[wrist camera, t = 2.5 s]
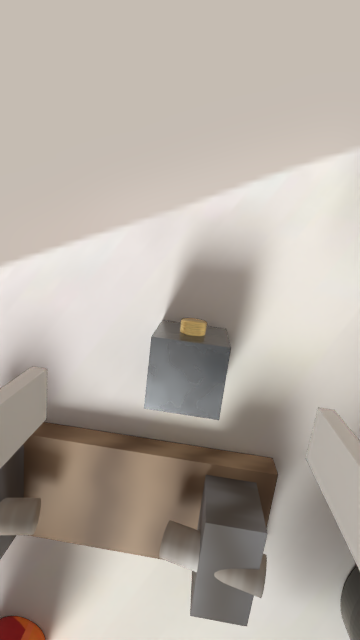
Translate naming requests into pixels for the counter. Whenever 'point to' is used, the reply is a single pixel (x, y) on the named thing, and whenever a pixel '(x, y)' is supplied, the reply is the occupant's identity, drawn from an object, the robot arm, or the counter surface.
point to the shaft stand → (147, 507)
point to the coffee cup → (19, 629)
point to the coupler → (187, 368)
